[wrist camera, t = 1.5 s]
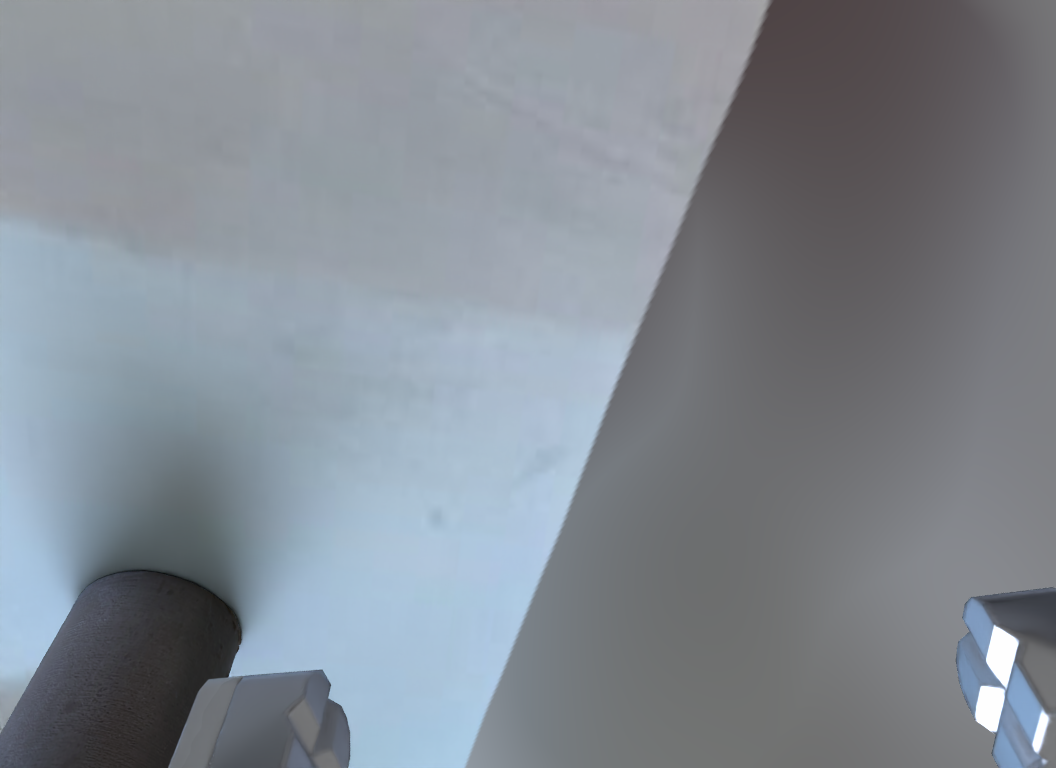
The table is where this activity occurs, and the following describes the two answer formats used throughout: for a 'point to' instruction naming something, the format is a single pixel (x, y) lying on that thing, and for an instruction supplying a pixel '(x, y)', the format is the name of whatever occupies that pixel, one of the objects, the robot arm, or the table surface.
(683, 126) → the table surface
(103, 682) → the pillar candle
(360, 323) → the table surface
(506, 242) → the table surface
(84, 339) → the table surface
